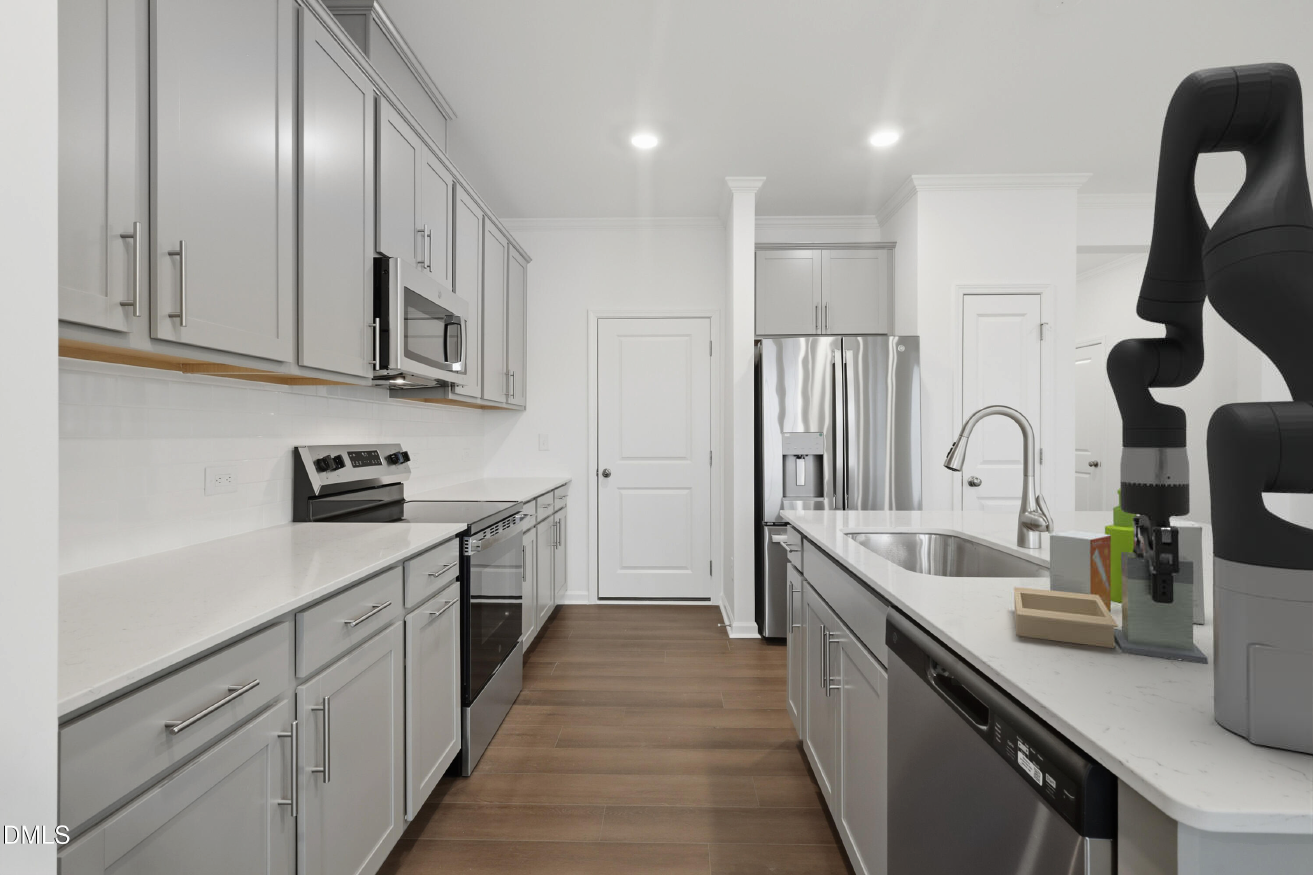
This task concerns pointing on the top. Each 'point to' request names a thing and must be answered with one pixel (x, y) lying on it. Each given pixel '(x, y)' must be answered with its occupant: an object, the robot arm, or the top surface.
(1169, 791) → the top surface
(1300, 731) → the robot arm
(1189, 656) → the mat
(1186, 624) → the tea tin
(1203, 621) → the skincare box
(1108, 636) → the wooden rectangular frame
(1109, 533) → the soap dispenser
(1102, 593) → the small box
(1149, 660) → the top surface
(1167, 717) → the top surface
